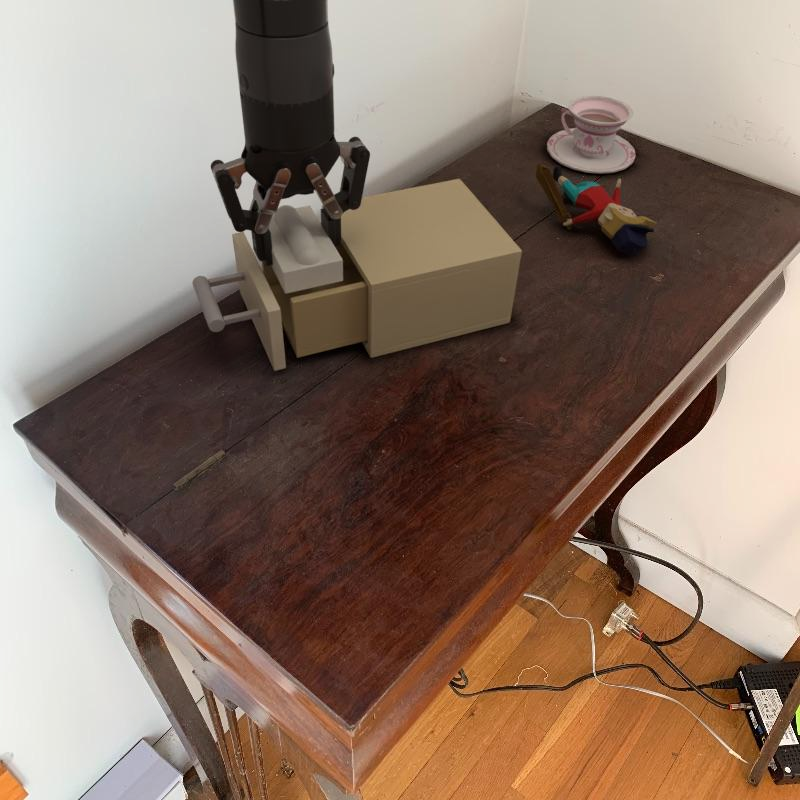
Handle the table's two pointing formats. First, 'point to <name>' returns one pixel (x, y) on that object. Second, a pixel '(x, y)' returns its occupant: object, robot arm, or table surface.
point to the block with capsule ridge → (302, 250)
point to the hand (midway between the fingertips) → (298, 253)
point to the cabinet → (430, 265)
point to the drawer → (291, 306)
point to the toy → (597, 209)
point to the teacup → (593, 136)
